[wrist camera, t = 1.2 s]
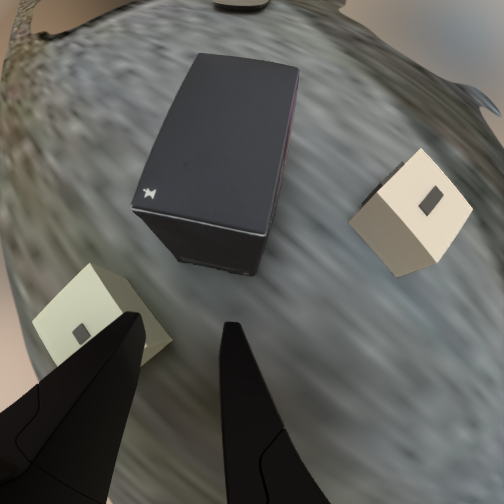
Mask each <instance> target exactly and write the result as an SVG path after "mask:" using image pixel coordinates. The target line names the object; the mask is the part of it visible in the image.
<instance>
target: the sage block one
mask: <svg viewBox="0 0 504 504" xmlns="http://www.w3.org/2000/svg"><path fill="white" fill-rule="evenodd" d="M126 311H133V312H139V313H140V314H141V316H142V319H143V324H144V327H145V331H146V342H145V347H144V351H143V356H142V362H141V366H142V365H144V364H145V363H146V362H147V361H148V360H150V359H151V358H152V357H153V356H154V355H156V354H157V353H158V352H159V351H160V350H162V349H163V348H164V347H165V346H166V345H168V344H169V343H170V342H171V341H172V338H171V337H170V336H169V335H168V334H167V332H166V331H165V330H164V329H163V327H162V326H161V325H160V323H159V322H158V321H157V320H156V318H155V317H154V316H153V314H152V313H151V312H150V310H149V309H148V308H147V307H146V305H145V304H144V303H143V301H142V300H141V298H140V297H139V296H138V294H137V293H136V292H135V290H134V289H133V287H132V286H131V285H130V283H129V282H128V280H127V279H126V278H125V277H122V276H120V275H117V274H115V273H113V272H110V271H108V270H105V269H103V268H101V267H98V266H96V265H94V264H91V263H89V264H88V265H87V266H86V267H85V268H84V269H83V270H82V271H81V272H80V273H79V274H78V275H77V276H76V277H74V278H73V279H72V280H71V281H70V282H69V283H68V284H67V285H66V286H65V287H64V288H63V289H62V290H61V292H60V293H59V294H58V295H57V296H56V297H55V298H54V299H53V300H52V301H51V302H50V303H49V304H48V305H47V306H46V307H45V308H44V309H43V310H42V311H41V313H40V314H39V315H38V316H37V317H36V318H35V319H34V320H33V321H32V323H33V325H34V327H35V328H36V330H37V332H38V334H39V336H40V338H41V339H42V341H43V343H44V345H45V347H46V348H47V350H48V352H49V353H50V355H51V357H52V358H53V360H54V362H55V363H56V365H57V367H58V366H59V365H60V364H61V363H62V362H64V361H65V360H66V359H67V358H68V357H70V356H71V355H72V354H73V353H74V352H76V351H77V350H78V349H79V348H81V347H82V346H83V345H84V344H85V343H87V342H88V341H89V340H90V339H92V338H93V337H94V336H95V335H97V334H98V333H99V332H100V331H101V330H103V329H104V328H105V327H106V326H108V325H109V324H110V323H111V322H113V321H114V320H115V319H116V318H118V317H119V316H120V315H121V314H123V313H124V312H126Z"/></svg>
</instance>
